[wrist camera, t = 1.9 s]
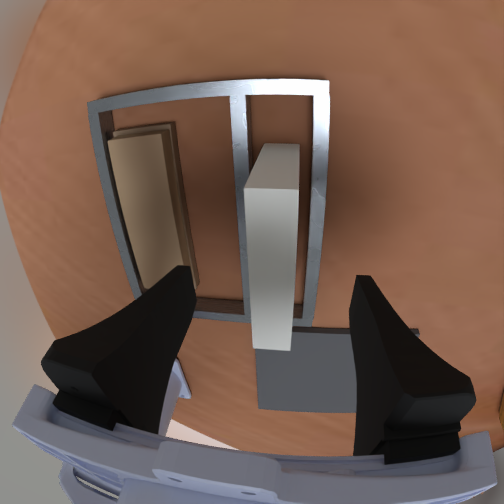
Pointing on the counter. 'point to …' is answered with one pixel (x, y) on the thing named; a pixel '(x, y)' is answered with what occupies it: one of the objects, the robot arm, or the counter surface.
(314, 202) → the rack
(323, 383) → the mat
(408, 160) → the counter surface
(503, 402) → the pancake mix bag
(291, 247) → the gray rectangular block
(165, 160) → the offcut stack
